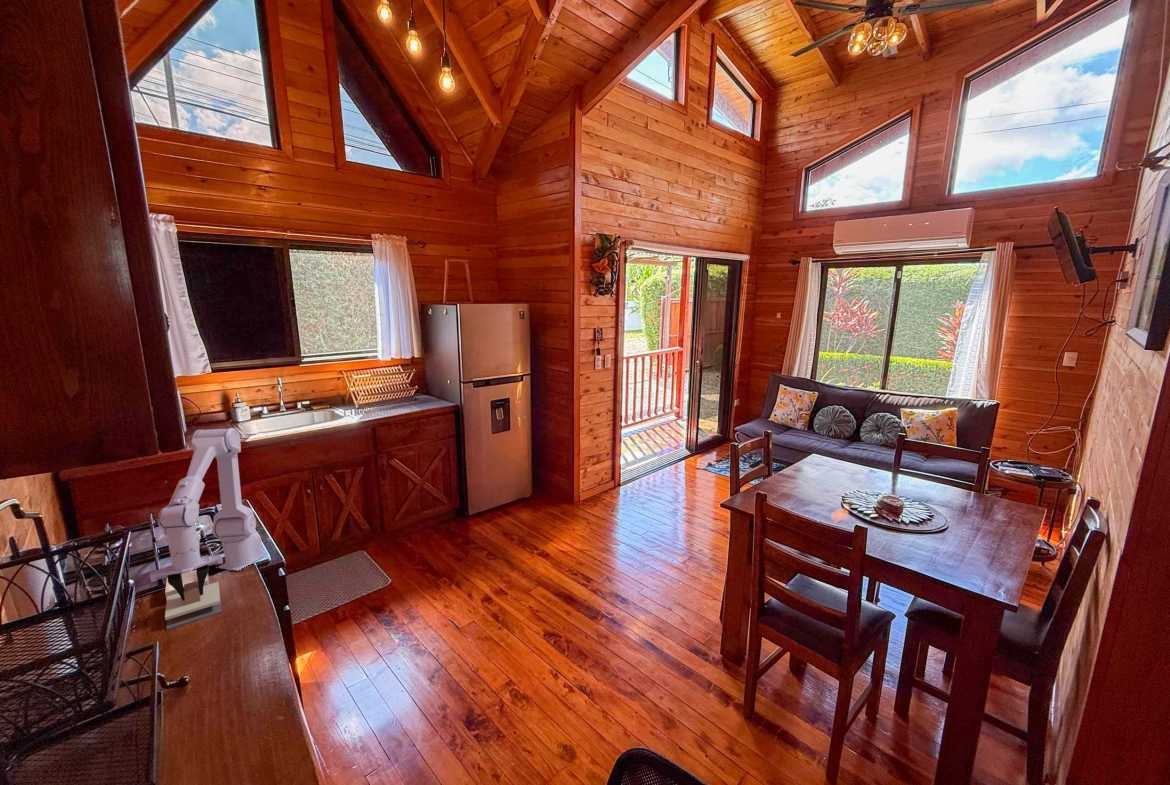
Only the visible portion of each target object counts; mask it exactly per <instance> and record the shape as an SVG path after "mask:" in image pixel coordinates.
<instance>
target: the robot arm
mask: <svg viewBox="0 0 1170 785" xmlns="http://www.w3.org/2000/svg"><path fill="white" fill-rule="evenodd" d="M190 443H191V447H192V450H193V453H192V458H191V460H190V464H189V467H188V470H187V473H186V476H185V477H184V478H181V479H180V480H178V483H177V484H176V487H175V490H174V491H173V494H172V495H171V498H170V501H169V503H168V505H166V506H165V507H163V508H162V509H160V511H159V514H158V520H157V525H158V526H159V528H160V529H162V532H163V535H164V536H166V537H167V538H166V539H167V542H168V550H169V555H170V559H171V565H168V566H165V567H163V568H160V569H158V570H154V571H151V572H150V573H149V578H150V583H155V582H157V581H158V580H161V579H164V578H165V579H167V578H168V583H169V584H170V585H171V586H172V587H173V588H174V589H175V590H176V591H177V592H178V593H179V595H180V597H181V599H182V601H184V600H185V598H184V587H183V582H182V576H181V574H185V573H189V572H191V571H195V570H197V578H198V583H199V593H200V595H203V587H204V582H205V579H206V576H207V574H208V575H209V566H214V565H219V566H218V569H221V570H229V571H236V572H240V571H242V570H243V569H245V568H247V567H249V566H250V565H252V564H254V563H255V562H257V561H259V560H261V559H263V558H264V557H266V554H265V553H264V551H263V542H262V537H261V535H260V533H259V532H258V531H257V530H256V527H257V520H256V517H255V514H254V510H253V509H252V508H250V507H248V506H246V505H244V504H243V503H242V502H243V501H242V500H243V499H242V491H241V490H242V489H241V479H240V471H239V469H240V467H239V458H238V454H239V453H241V452H242V450H241V449H242V445H241V444H242V443H241V435H240V432H239V431H237V429H236V428H234V427H229V428H215V429H197V430H196V431H195V432H194V433H193V434H192V436H191V442H190ZM214 458H215V459H216V463H217V465H216V466H217V474H218V486H219V494H220V496H219V497H220V505H221V509H220V510H219V511H218V512H216V513H215V514H214V515H213V523H212V529H211V532H212V535H213V536H214V537H215V538H216V539H218V540H219V542H221V543H222V544H221V545H222V548H223V549H222V550H223V555H224V561H225V563H224V561H223V555H222V553H219V554H213V555H208V556H201V552H200V545H199V546H198V540H197V535H196V533H197V530H196V523H197V521H198V519H199V514H200V511H199V510H200V504H199V501H200V499H201V497H202V494H203V493H204V492H203V491H204V489H205V486H206V484H205V482H204V481H203V479H204V477H205V474H206V473H207V470H208V469H209V467H210V465H211V464H212V461H213V460H214ZM248 565H249V566H248ZM246 566H247V567H246ZM244 567H245V568H244ZM242 568H243V569H242ZM241 569H242V570H241ZM239 570H240V571H239Z"/></svg>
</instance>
